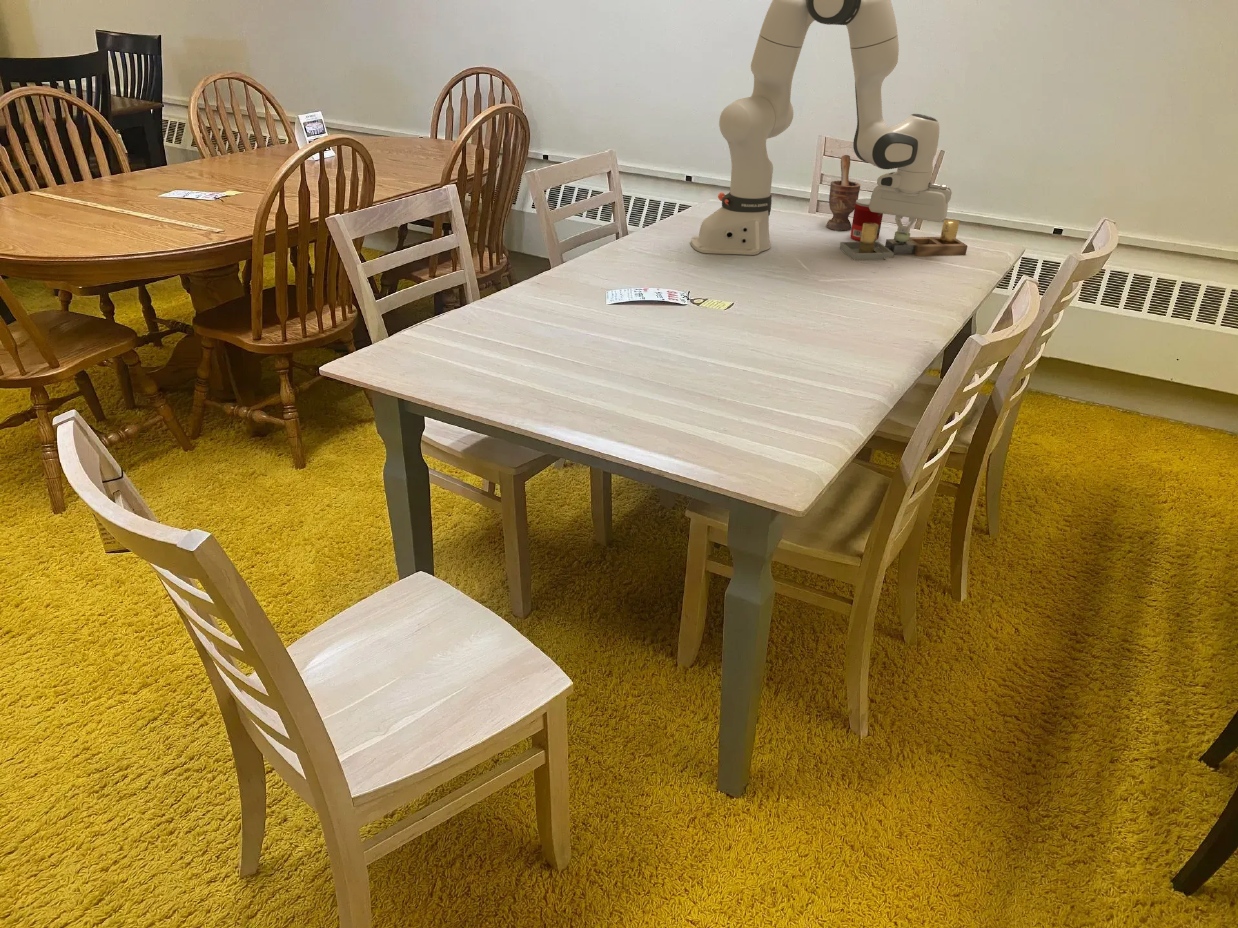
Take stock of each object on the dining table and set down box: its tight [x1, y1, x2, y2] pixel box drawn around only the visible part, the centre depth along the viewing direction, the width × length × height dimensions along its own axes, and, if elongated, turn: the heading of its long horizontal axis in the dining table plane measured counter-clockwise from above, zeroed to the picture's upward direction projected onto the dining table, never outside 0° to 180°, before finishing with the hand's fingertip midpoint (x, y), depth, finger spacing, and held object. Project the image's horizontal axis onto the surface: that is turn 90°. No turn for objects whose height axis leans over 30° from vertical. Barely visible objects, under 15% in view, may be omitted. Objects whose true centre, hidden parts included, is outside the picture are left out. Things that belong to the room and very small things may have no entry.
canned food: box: [850, 198, 884, 242], centre depth 239 cm, size 8×8×11 cm
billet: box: [858, 222, 878, 253], centre depth 226 cm, size 4×4×8 cm
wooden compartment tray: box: [909, 236, 968, 257], centre depth 230 cm, size 14×9×4 cm, turn 96°
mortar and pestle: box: [826, 154, 861, 232], centre depth 249 cm, size 12×9×20 cm
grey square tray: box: [839, 240, 895, 261], centre depth 228 cm, size 11×11×2 cm
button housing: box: [884, 238, 916, 256], centre depth 229 cm, size 6×6×4 cm
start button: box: [893, 231, 911, 244], centre depth 228 cm, size 4×4×5 cm
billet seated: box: [939, 218, 960, 244], centre depth 228 cm, size 4×4×8 cm
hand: (903, 233), depth 226 cm, fingers closed, pressing on start button
